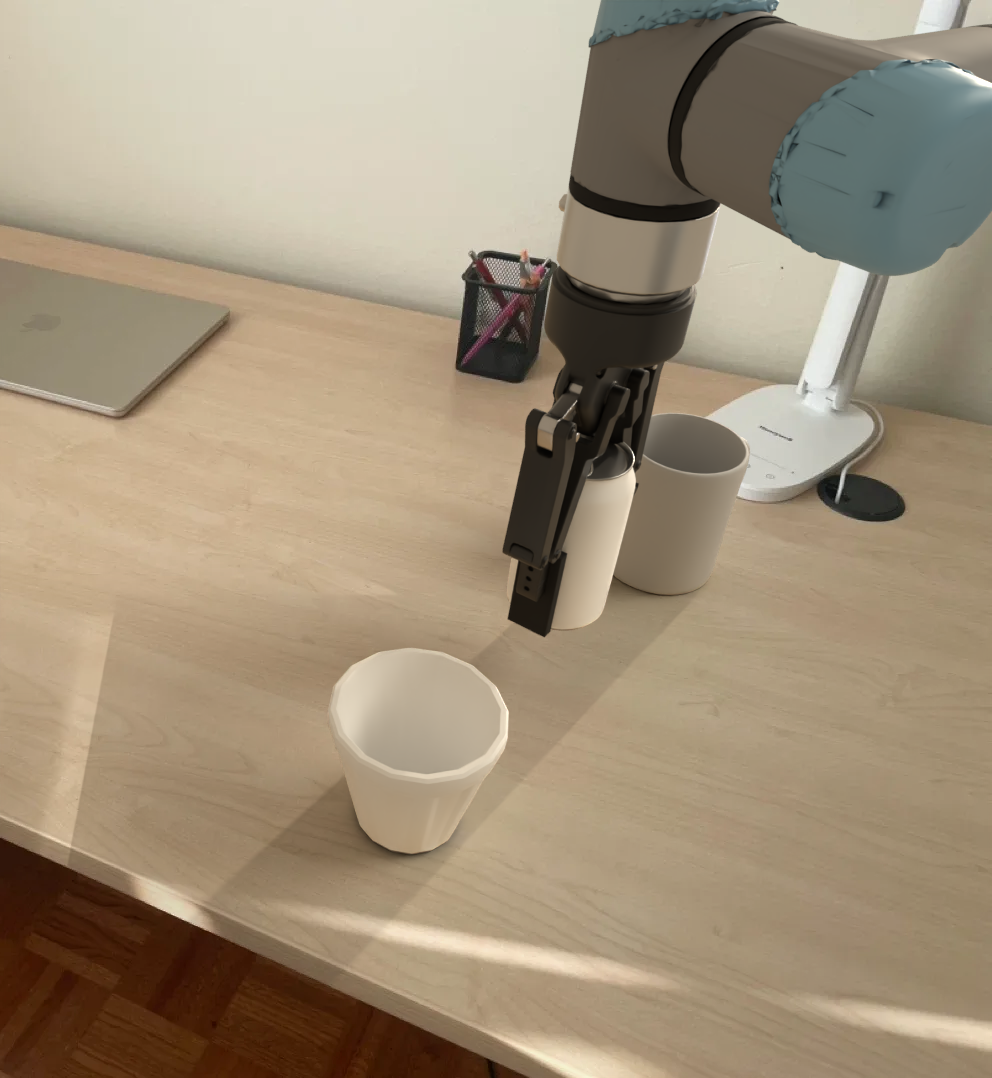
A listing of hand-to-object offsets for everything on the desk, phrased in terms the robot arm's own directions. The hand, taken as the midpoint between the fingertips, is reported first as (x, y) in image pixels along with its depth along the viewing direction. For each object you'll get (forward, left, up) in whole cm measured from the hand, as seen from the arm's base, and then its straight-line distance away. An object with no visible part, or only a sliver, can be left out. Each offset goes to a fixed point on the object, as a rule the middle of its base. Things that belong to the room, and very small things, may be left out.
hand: (555, 596), depth 71 cm
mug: (-2, -17, -6) cm, 18 cm away
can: (0, 0, -1) cm, 1 cm away
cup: (0, +17, -6) cm, 18 cm away
